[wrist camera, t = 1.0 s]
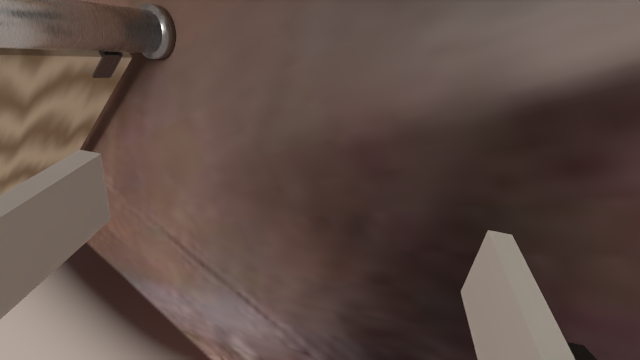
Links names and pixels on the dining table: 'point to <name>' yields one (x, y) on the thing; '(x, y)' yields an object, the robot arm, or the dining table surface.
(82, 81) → the gate panel
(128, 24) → the gate post
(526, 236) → the dining table surface
